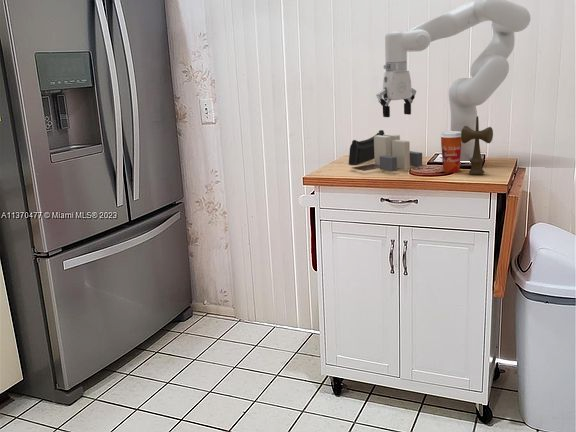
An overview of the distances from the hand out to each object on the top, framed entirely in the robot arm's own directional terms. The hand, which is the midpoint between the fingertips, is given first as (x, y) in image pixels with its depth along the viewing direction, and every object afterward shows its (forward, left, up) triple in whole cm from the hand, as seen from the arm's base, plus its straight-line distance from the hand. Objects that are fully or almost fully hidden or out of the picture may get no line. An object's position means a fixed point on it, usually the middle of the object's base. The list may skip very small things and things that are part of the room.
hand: (397, 115), depth 218 cm
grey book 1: (-1, +6, -20) cm, 21 cm away
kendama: (-26, -13, -20) cm, 36 cm away
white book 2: (+8, -3, -19) cm, 21 cm away
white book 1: (+8, +1, -19) cm, 21 cm away
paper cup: (-16, -11, -20) cm, 28 cm away
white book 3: (-1, 0, -20) cm, 20 cm away
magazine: (+24, -5, -20) cm, 32 cm away
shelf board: (+8, +4, -20) cm, 22 cm away
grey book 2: (-1, -6, -20) cm, 21 cm away
